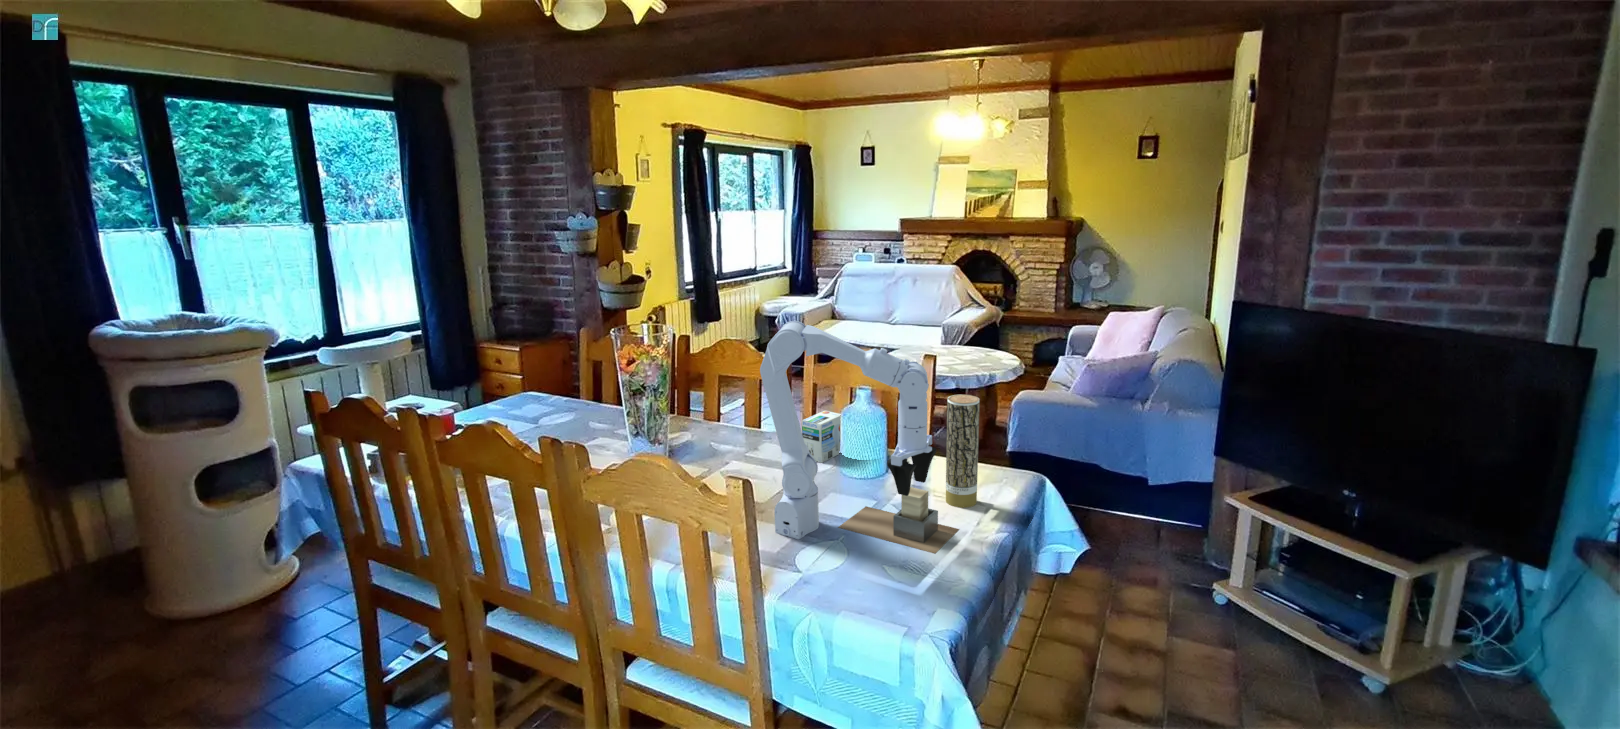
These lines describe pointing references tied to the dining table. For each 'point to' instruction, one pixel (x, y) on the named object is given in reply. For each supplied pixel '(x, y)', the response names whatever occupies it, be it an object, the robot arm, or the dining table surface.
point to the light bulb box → (822, 435)
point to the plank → (882, 528)
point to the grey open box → (915, 526)
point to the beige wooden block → (915, 504)
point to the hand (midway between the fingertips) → (912, 487)
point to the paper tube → (962, 450)
